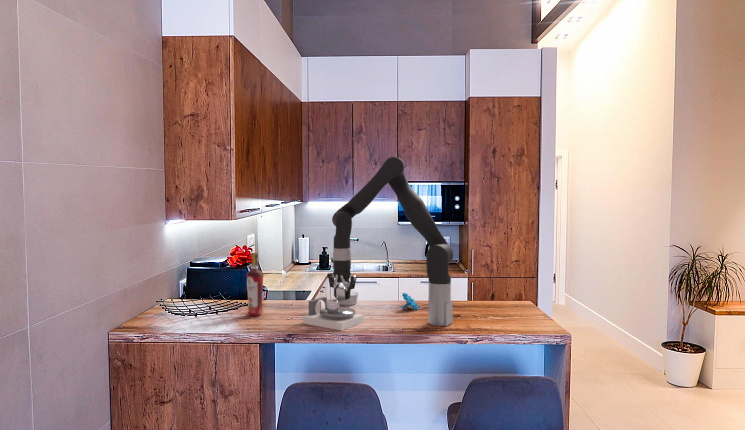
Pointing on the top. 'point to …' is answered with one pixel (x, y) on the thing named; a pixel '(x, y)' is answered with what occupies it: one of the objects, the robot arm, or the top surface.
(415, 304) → the blue plastic branched piece
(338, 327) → the scale
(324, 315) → the pan
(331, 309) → the block
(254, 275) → the liquor
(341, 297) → the spacer
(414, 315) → the top surface
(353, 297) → the ramekin
